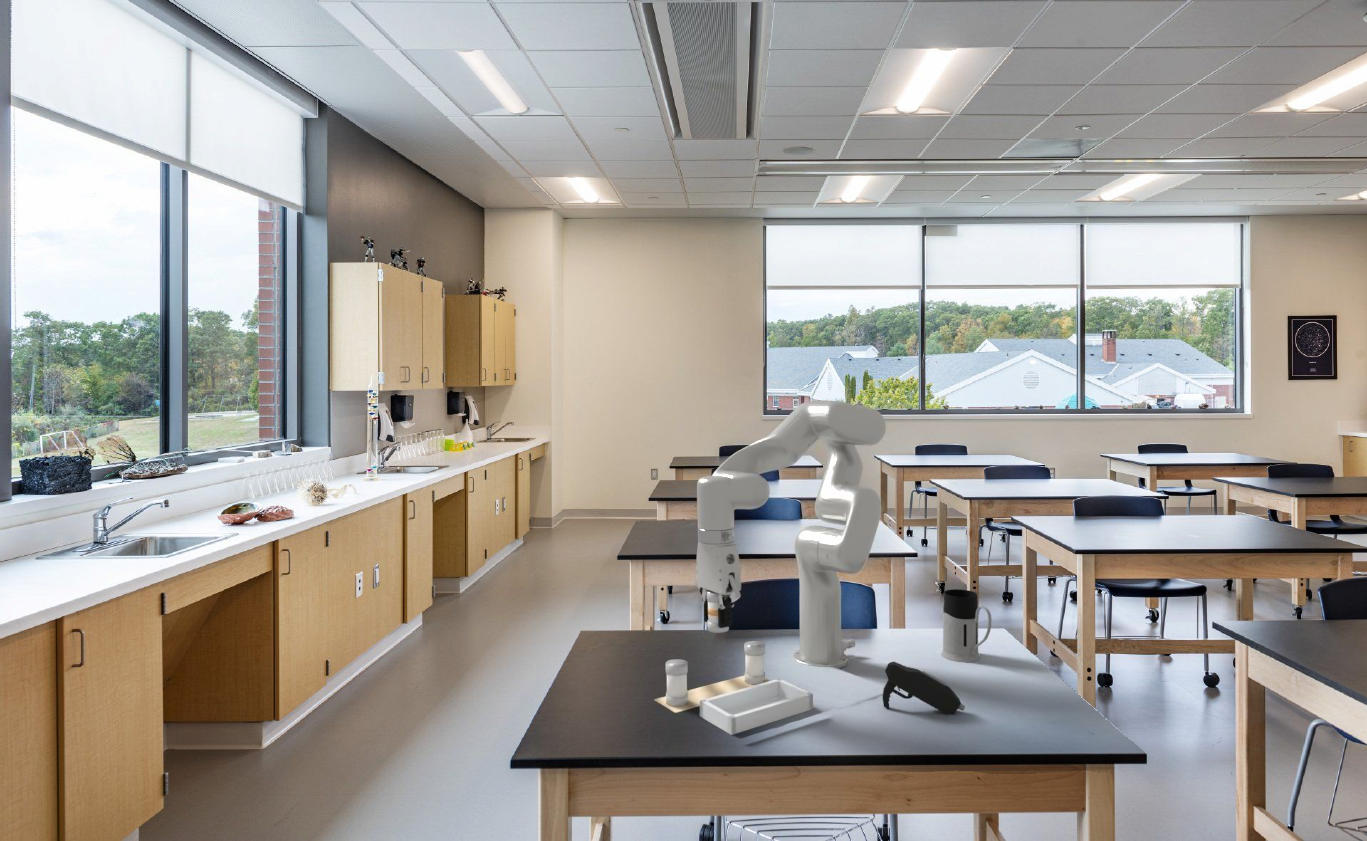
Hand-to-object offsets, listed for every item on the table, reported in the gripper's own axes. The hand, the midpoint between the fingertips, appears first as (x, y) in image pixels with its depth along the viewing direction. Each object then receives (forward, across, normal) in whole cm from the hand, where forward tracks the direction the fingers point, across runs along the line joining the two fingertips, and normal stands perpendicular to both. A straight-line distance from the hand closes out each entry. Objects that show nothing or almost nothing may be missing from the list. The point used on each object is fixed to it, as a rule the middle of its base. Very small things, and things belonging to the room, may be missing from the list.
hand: (718, 622), depth 162 cm
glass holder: (+17, -16, -60) cm, 65 cm away
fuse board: (+15, 0, +1) cm, 15 cm away
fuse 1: (+14, 0, +11) cm, 18 cm away
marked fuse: (+1, 0, 0) cm, 1 cm away
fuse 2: (+15, 0, -9) cm, 17 cm away
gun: (+16, -29, -28) cm, 44 cm away
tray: (+15, -13, +1) cm, 20 cm away
